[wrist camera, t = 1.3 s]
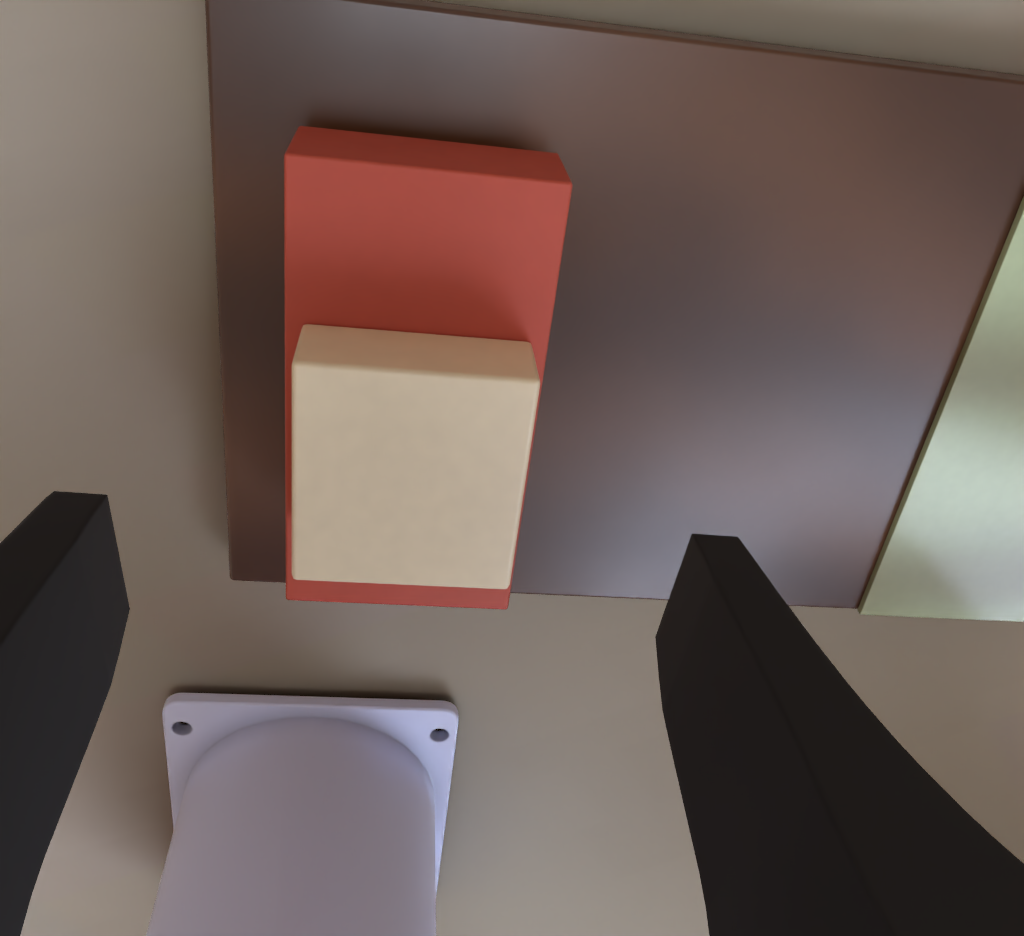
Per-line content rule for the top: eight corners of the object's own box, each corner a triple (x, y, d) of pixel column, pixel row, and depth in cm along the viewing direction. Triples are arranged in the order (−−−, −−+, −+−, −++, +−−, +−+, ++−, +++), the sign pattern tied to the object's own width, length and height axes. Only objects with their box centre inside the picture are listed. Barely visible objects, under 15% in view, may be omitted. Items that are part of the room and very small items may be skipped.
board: (1046, 595, 26) (1070, 624, 25) (236, 556, 24) (227, 587, 23) (1302, 110, 20) (1350, 122, 19) (214, -27, 17) (200, -21, 16)
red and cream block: (498, 528, 23) (514, 663, 19) (301, 517, 22) (274, 655, 18) (552, 139, 18) (587, 212, 14) (304, 112, 17) (269, 180, 13)
